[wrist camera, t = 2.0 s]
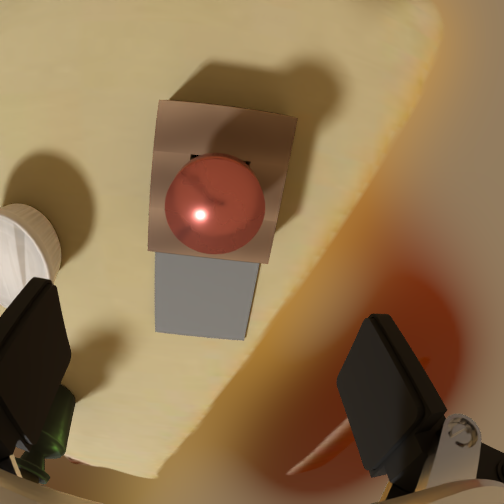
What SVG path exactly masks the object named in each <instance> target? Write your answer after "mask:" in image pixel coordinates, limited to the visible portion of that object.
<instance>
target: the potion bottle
mask: <svg viewBox="0 0 504 504" xmlns="http://www.w3.org/2000/svg"><path fill="white" fill-rule="evenodd" d="M75 403H76V402H75V399H74V396H73V395H72V393H71V392H70V391H69V390H68V389H67V388H65V387H64V386H62V385H59V388H58V390H57V393H56V395H55V398H54V400H53V402H52V405H51V408H50V410H49V413H48V415H47V418H46V421H45V423H44V426H43V429H42V431H41V434H40V437H39V440H38V442H37V444H35V445H32V447H31V450H30V452H28V451H25V452H24V454H23V455H22V456H21V458H16V457H15V460H16V463H17V466H18V468H19V471H20V473H21V475H22V478H24V479H26V480H29V481H32V482H34V483H37V484H39V483H41V484H46V483H47V482H48V481H49V479H50V476H49V475H48V474H47V473H46V472H45V471H44V470H45V458H46V459H47V458H49V459H53V458H54V459H55V458H60V457H61V456H63V455H64V454H65V452H66V447H67V441H68V436H69V431H70V426H71V421H72V416H73V412H74V407H75Z"/></svg>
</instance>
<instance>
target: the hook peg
mask: <svg viewBox="0 0 504 504" xmlns="http://www.w3.org/2000/svg"><path fill="white" fill-rule="evenodd" d="M165 215H166V219H167V223H168V225H169V227H170V229H171V231H172V232H173V234H174V235H175V236H176V238H177V239H178V240H179V241H181V242H182V243H183V244H184V245H186V246H187V247H189V248H191V249H193V250H195V251H198V252H201V253H205V254H225V253H229V252H232V251H235V250H237V249H239V248H241V247H243V246H244V245H246V244H247V243H248V242H250V241H251V240H252V239H253V238H254V236H255V235H256V234H257V232H258V231H259V229H260V227H261V225H262V223H263V219H264V216H265V199H264V195H263V191H262V189H261V186H260V184H259V181H258V179H257V177H256V175H255V173H254V172H253V170H252V169H251V168H250V167H249V166H248V165H247V164H246V163H245V162H243V161H242V160H240V159H239V158H237V157H235V156H232V155H229V154H224V153H208V154H203V155H200V156H197V157H196V158H194V159H192V160H190V161H189V162H187V163H186V164H185V165H184V166H183V167H182V168H181V169H180V171H179V172H178V173H177V175H176V177H175V178H174V180H173V181H172V183H171V185H170V187H169V189H168V191H167V195H166V199H165Z"/></svg>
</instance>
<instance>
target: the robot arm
mask: <svg viewBox="0 0 504 504" xmlns="http://www.w3.org/2000/svg"><path fill="white" fill-rule="evenodd" d="M70 359H71V349H70V346H69V342H68V338H67V334H66V329H65V325H64V321H63V316H62V311H61V307H60V302H59V296H58V291H57V287H56V286H55V285H53V283H52V281H51V280H49V279H44V278H39V277H33V278H32V279H31V280H30V281H29V282H28V283H27V284H26V286H25V287H24V288H23V289H22V290H21V292H20V293H19V294H18V295H17V296H16V298H15V299H14V300H13V301H12V303H11V304H10V305H9V306H8V308H7V309H6V310H5V312H4V313H3V314H2V315H1V317H0V504H103V503H99V502H94V501H90V500H87V499H83V498H80V497H76V496H73V495H70V494H66V493H63V492H60V491H57V490H54V489H51V488H48V487H45V486H43V485H40V484H37V483H34V482H32V481H29V480H26V479H24V478H22V475H21V473H20V471H19V468H18V466H17V463H16V460H15V458H14V455H13V452H14V449H15V447H18V448H20V449H23V450H25V451H28V452H30V450H31V447H32V445H35V444H37V442H38V440H39V437H40V434H41V431H42V429H43V426H44V423H45V421H46V418H47V415H48V413H49V410H50V408H51V405H52V402H53V400H54V398H55V395H56V393H57V390H58V388H59V385H60V383H61V381H62V378H63V376H64V374H65V372H66V369H67V367H68V365H69V363H70ZM337 387H338V390H339V393H340V396H341V399H342V402H343V405H344V407H345V411H346V414H347V417H348V420H349V423H350V426H351V429H352V432H353V435H354V438H355V441H356V444H357V447H358V450H359V453H360V457H361V460H362V463H363V466H364V468H365V469H366V470H369V472H370V475H371V477H377V476H381V475H386V474H387V475H388V478H389V481H388V483H387V485H386V487H385V490H384V492H383V494H382V496H381V498H380V500H379V502H376V503H372V504H504V453H502V452H500V451H498V450H496V449H494V448H492V447H490V446H488V445H486V444H484V443H482V442H481V440H482V439H481V432H480V429H479V427H478V426H477V424H476V423H475V422H474V421H473V420H472V419H471V418H469V417H468V416H466V415H463V414H452V415H450V416H448V417H447V418H445V416H444V414H445V412H446V411H447V409H446V407H445V405H444V403H443V401H442V400H441V398H440V396H439V394H438V393H437V391H436V389H435V387H434V386H433V384H432V382H431V381H430V379H429V377H428V375H427V374H426V372H425V370H424V369H423V367H422V365H421V364H420V362H419V361H418V359H417V357H416V356H415V354H414V352H413V351H412V349H411V348H410V346H409V344H408V343H407V341H406V340H405V338H404V336H403V335H402V333H401V332H400V330H399V329H398V327H397V325H396V324H395V322H394V321H393V320H392V318H391V316H390V315H388V314H371V315H370V316H369V317H368V318H366V319H365V320H364V321H363V323H362V325H361V328H360V330H359V332H358V334H357V337H356V339H355V341H354V343H353V345H352V347H351V350H350V352H349V354H348V356H347V358H346V361H345V362H344V364H343V367H342V369H341V371H340V373H339V375H338V377H337Z"/></svg>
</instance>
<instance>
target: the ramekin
mask: <svg viewBox="0 0 504 504" xmlns="http://www.w3.org/2000/svg"><path fill="white" fill-rule="evenodd" d="M60 263H61V247H60V243H59V239H58V237H57V234H56V232H55V230H54V228H53V226H52V225H51V223H50V222H49V220H48V219H47V218H46V217H45V216H44V215H43V214H42V213H41V212H39V211H38V210H36V209H35V208H33V207H31V206H28V205H25V204H20V203H18V204H16V203H14V204H9V205H6V206H4V207H1V208H0V305H2V306H3V307H5V308H8V306H9V305H10V304H11V303H12V301H13V300H14V299H15V298H16V296H17V295H18V294H19V293H20V292H21V290H22V289H23V288H24V287H25V286H26V284H27V283H28V282H29V281H30V280H31V279H32V278H33V277H39V278H44V279H49V280H51V281H52V283H53V285H54V281H55V279H56V276H57V274H58V271H59V268H60Z"/></svg>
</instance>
